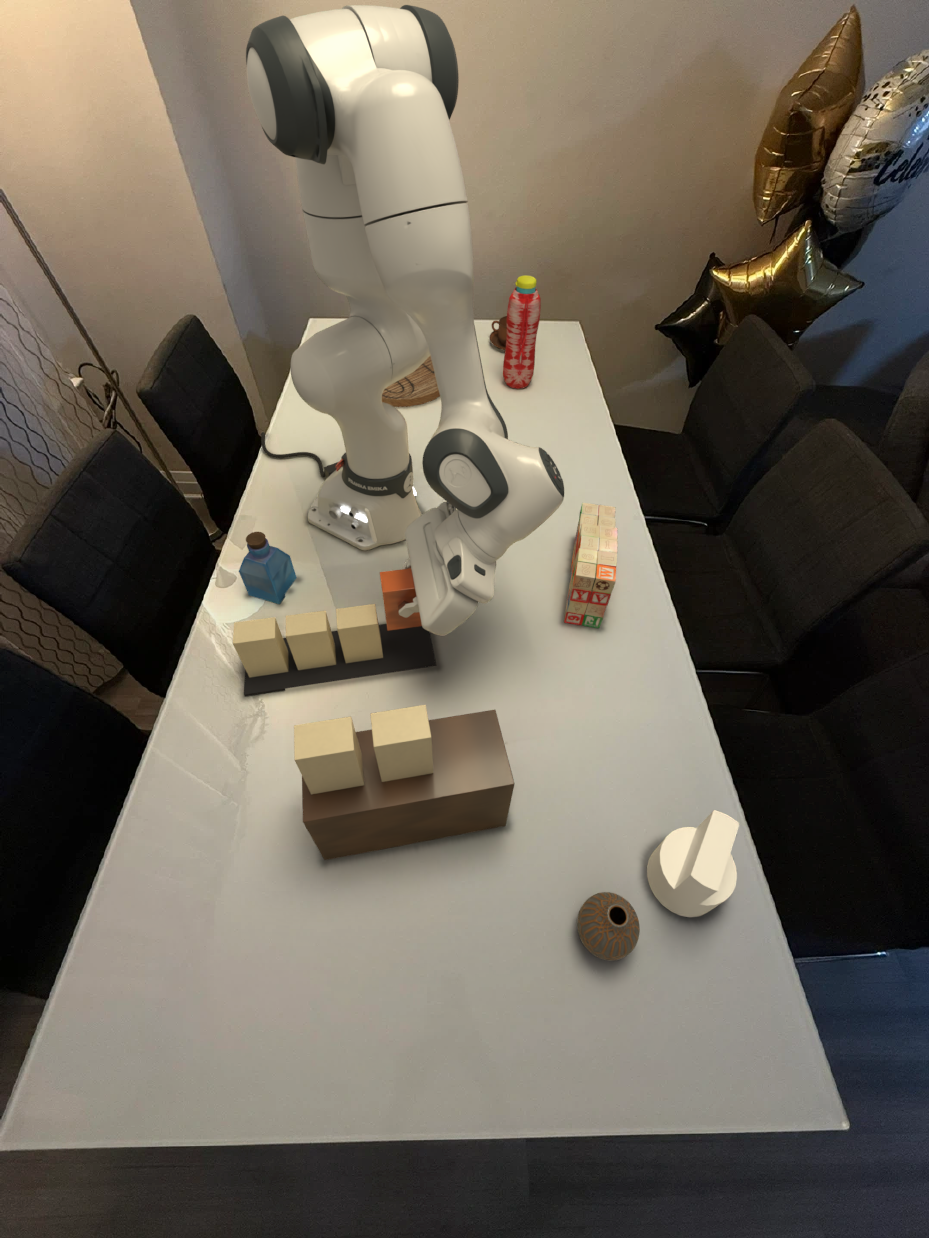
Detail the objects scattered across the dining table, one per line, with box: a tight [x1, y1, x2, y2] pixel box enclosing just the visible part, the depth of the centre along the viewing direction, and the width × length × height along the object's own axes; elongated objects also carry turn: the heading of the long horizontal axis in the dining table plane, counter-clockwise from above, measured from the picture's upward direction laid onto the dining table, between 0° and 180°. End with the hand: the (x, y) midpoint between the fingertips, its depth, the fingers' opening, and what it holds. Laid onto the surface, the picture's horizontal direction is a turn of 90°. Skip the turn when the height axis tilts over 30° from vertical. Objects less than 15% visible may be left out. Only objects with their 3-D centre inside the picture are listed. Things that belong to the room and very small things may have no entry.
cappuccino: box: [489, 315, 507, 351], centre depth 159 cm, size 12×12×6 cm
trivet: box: [382, 356, 440, 408], centre depth 148 cm, size 25×25×2 cm
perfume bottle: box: [238, 531, 298, 605], centre depth 99 cm, size 6×6×12 cm
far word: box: [232, 603, 437, 697], centre depth 91 cm, size 30×10×10 cm, turn 101°
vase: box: [576, 891, 641, 962], centre depth 66 cm, size 7×7×9 cm
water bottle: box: [502, 274, 542, 390], centre depth 140 cm, size 12×8×25 cm, turn 177°
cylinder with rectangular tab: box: [646, 809, 741, 918], centre depth 69 cm, size 9×9×12 cm
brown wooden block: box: [293, 704, 515, 861], centre depth 70 cm, size 24×10×23 cm, turn 101°
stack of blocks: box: [563, 502, 619, 629], centre depth 101 cm, size 21×6×12 cm, turn 169°
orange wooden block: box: [379, 568, 422, 631], centre depth 87 cm, size 6×4×9 cm, turn 101°
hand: (399, 599), depth 87 cm, fingers closed on orange wooden block, 4 cm apart
